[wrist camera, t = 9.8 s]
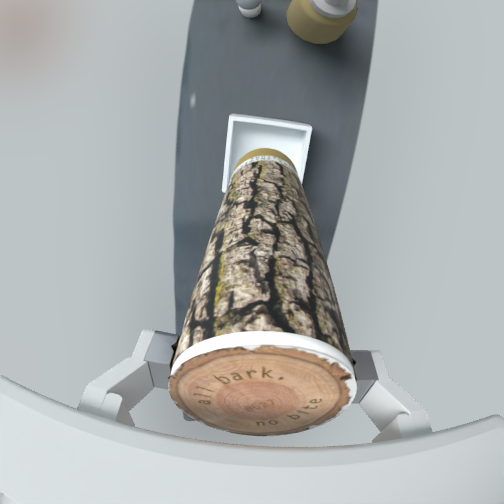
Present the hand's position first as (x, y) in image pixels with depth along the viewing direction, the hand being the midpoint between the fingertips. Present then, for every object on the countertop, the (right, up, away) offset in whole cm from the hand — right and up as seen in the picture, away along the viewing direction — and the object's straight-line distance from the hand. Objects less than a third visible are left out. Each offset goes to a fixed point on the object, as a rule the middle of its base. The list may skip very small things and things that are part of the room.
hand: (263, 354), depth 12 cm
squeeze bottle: (+8, +37, +20) cm, 43 cm away
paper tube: (+1, +12, +19) cm, 23 cm away
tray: (+2, +19, +31) cm, 37 cm away
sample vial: (-1, +39, +19) cm, 43 cm away
